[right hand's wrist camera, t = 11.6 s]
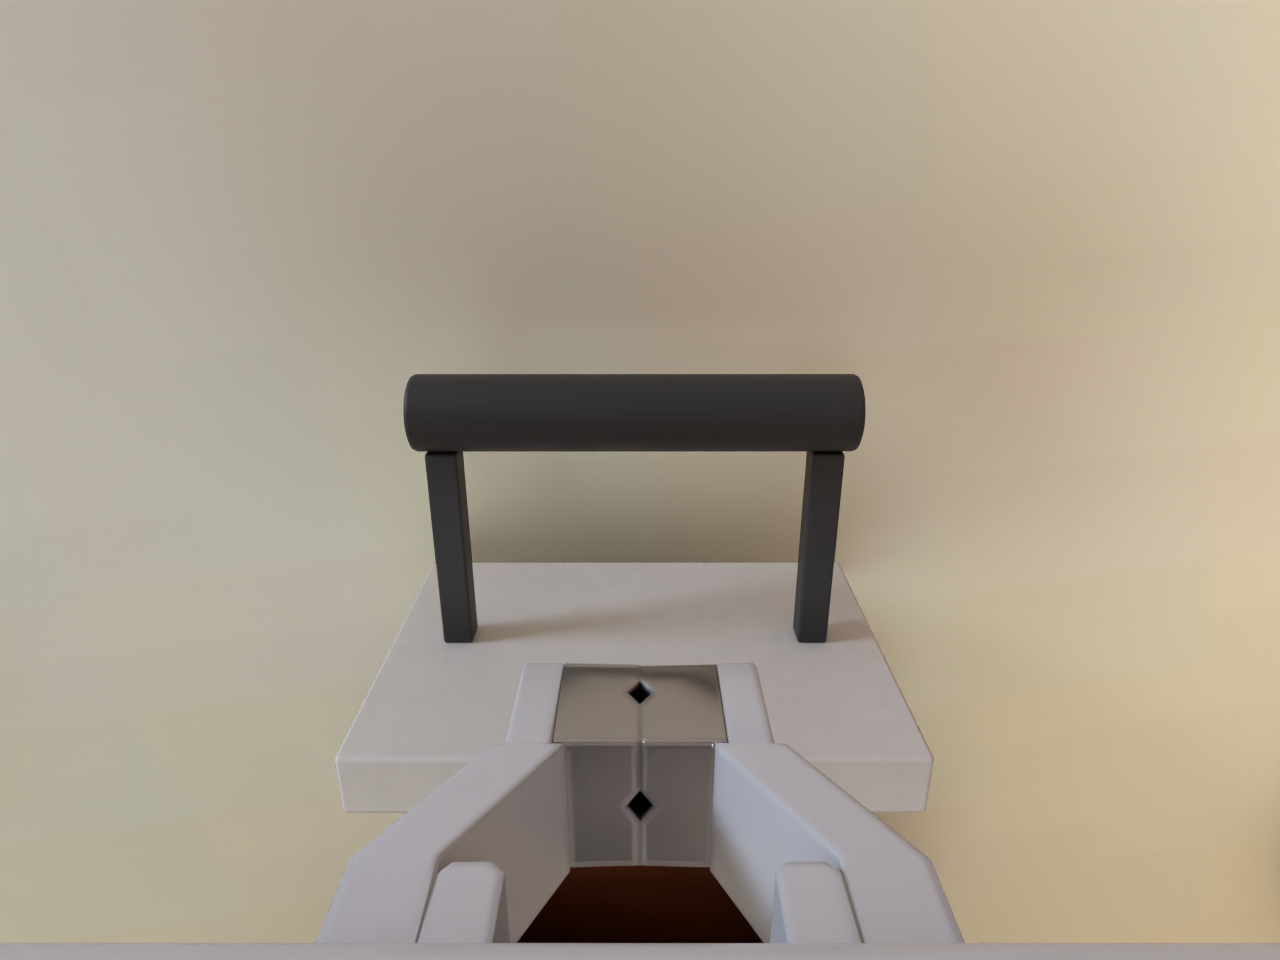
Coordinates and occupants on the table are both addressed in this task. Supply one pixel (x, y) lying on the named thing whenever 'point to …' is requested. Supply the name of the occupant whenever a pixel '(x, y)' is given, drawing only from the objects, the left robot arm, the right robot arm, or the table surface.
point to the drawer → (633, 619)
